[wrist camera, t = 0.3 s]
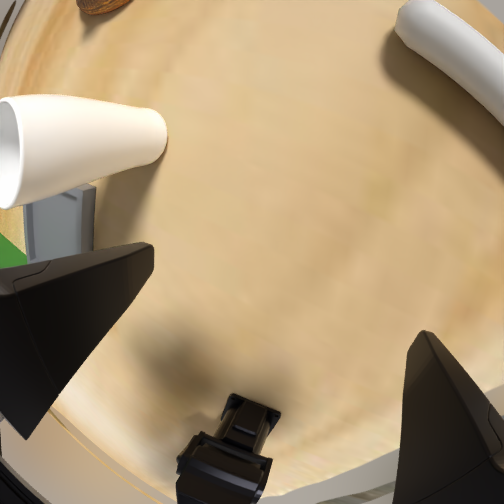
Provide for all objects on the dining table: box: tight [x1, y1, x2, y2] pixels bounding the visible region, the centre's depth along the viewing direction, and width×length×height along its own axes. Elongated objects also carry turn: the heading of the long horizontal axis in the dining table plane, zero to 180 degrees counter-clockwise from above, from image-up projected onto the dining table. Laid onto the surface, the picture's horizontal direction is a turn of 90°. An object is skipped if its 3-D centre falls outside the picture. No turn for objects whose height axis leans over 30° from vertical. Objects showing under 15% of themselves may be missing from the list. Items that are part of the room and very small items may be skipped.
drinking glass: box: [0, 94, 168, 210], centre depth 18 cm, size 7×7×15 cm
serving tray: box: [23, 184, 96, 264], centre depth 32 cm, size 15×14×2 cm
